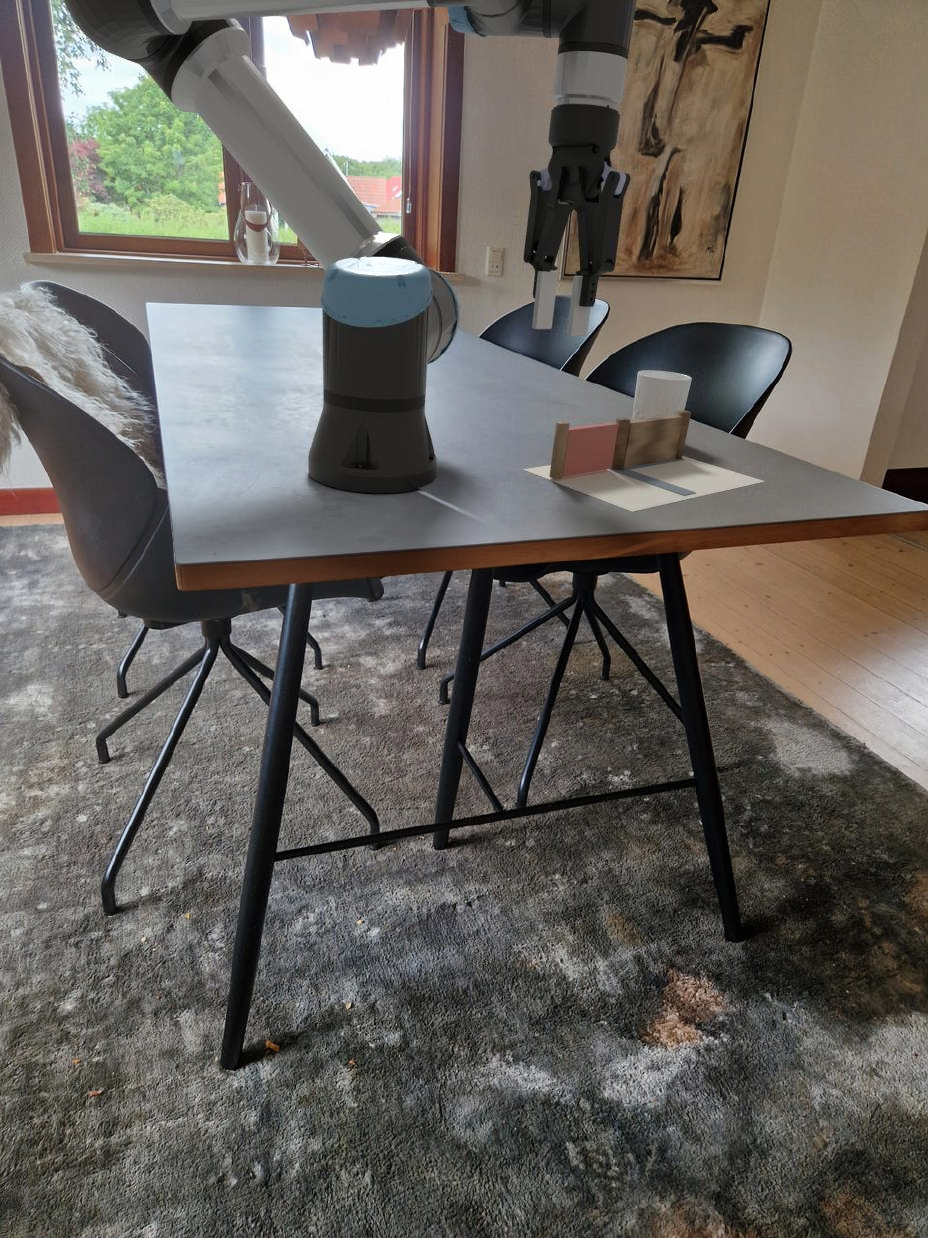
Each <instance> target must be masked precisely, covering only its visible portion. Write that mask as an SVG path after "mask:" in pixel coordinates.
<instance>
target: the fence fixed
mask: <svg viewBox="0 0 928 1238" xmlns="http://www.w3.org/2000/svg"><path fill="white" fill-rule="evenodd" d="M691 416H692V412H691V411H689V410H684V411H683V410H679V411H678V413H677V415H674V416H666V417H658V418H650V419H642V420H634V421H632V420H631V419H630V418H629V417H628V418H627V417H616V418H615V423H617V424H619V425H618V431H617V437H616V443H615V450H614V456H613V462H612V468H611V469H613V470H622V468H627V467H633V466H638V465H644V464H650V463H655V462H661V461H667V460H673V459H682V456H684V449H685V445H686V439H687V437H688V436H687V435H688V429H689V425H690V421H691Z"/></svg>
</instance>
